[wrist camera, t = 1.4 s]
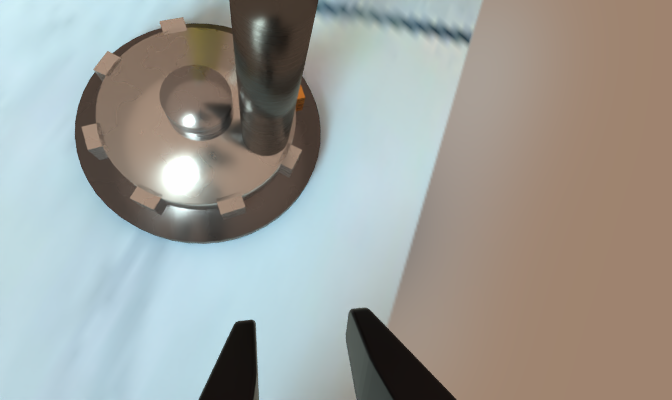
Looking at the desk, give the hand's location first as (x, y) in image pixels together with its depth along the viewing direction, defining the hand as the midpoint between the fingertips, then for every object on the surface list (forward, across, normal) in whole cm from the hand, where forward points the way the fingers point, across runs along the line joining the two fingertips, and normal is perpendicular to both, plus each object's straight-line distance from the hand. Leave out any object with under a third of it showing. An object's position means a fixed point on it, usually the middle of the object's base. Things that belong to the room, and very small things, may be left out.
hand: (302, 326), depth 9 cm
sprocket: (+15, +3, +1) cm, 16 cm away
